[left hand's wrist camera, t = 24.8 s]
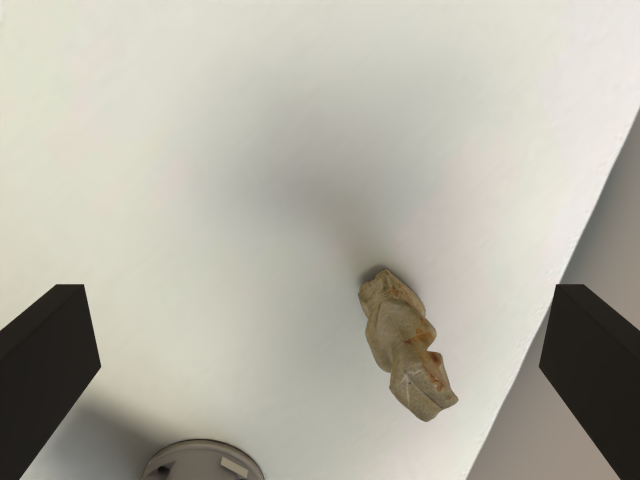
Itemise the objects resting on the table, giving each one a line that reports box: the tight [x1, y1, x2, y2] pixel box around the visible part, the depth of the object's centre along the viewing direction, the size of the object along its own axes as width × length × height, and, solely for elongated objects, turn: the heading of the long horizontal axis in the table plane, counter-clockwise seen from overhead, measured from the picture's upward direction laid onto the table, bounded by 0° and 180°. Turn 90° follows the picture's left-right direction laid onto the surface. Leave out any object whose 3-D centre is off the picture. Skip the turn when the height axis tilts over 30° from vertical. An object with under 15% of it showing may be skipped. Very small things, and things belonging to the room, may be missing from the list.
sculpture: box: [358, 269, 458, 422], centre depth 40 cm, size 6×7×15 cm
